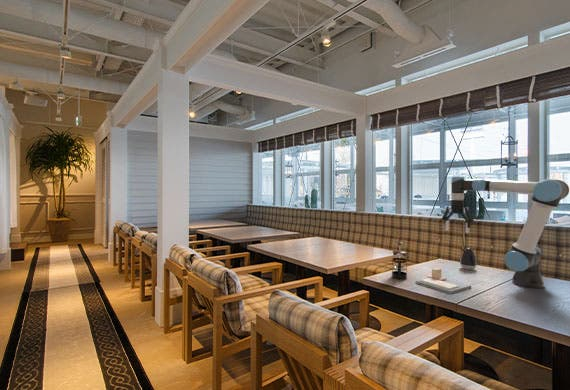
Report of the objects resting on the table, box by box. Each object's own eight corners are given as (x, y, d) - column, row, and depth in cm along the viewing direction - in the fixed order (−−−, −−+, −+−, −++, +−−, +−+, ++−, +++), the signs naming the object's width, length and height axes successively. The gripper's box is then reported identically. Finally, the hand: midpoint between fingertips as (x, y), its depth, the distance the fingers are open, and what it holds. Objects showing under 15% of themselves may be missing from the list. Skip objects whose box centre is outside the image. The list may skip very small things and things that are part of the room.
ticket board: (471, 288, 186) (471, 284, 186) (450, 294, 176) (450, 289, 175) (436, 278, 205) (436, 274, 205) (415, 283, 194) (415, 279, 194)
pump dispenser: (456, 267, 233) (456, 246, 232) (469, 267, 234) (470, 246, 234) (465, 271, 223) (466, 249, 222) (479, 270, 224) (480, 249, 223)
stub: (446, 279, 197) (446, 270, 196) (440, 280, 194) (440, 271, 193) (432, 275, 204) (433, 266, 204) (427, 277, 201) (427, 267, 201)
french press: (407, 281, 199) (408, 244, 198) (391, 279, 202) (391, 243, 201) (406, 276, 210) (407, 240, 209) (391, 274, 213) (392, 240, 212)
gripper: (436, 199, 222) (436, 229, 223) (473, 200, 201) (473, 234, 202) (443, 198, 226) (442, 229, 227) (480, 200, 205) (479, 233, 206)
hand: (457, 231), depth 214 cm, fingers open, 13 cm apart
